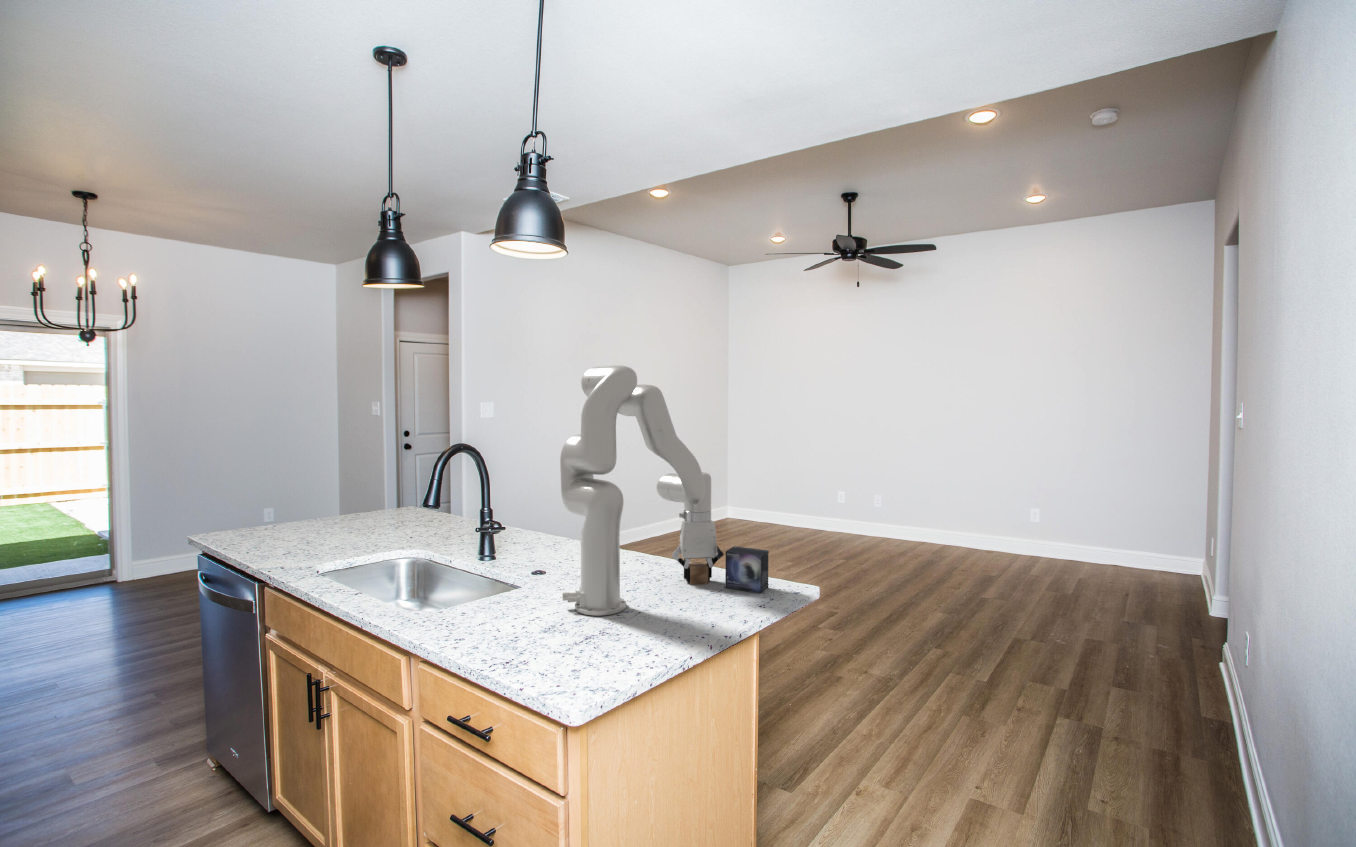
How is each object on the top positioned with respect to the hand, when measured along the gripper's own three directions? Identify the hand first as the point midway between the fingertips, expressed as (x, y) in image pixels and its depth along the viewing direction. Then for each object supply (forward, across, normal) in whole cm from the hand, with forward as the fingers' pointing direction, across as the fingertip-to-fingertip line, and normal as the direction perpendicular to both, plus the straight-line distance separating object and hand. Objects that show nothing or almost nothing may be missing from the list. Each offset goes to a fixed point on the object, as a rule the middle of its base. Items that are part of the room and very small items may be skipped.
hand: (697, 580), depth 184 cm
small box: (+1, +12, -8) cm, 14 cm away
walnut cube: (+1, 0, 0) cm, 1 cm away
